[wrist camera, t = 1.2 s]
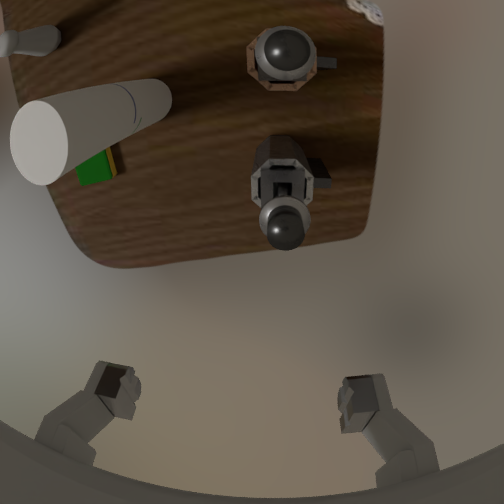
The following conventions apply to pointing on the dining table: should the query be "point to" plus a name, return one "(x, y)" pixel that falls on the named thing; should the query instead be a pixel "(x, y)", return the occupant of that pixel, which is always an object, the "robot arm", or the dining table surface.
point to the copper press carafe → (283, 85)
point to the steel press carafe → (285, 171)
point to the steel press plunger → (284, 220)
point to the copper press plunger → (285, 53)
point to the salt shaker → (30, 41)
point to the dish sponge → (97, 168)
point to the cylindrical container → (82, 125)
